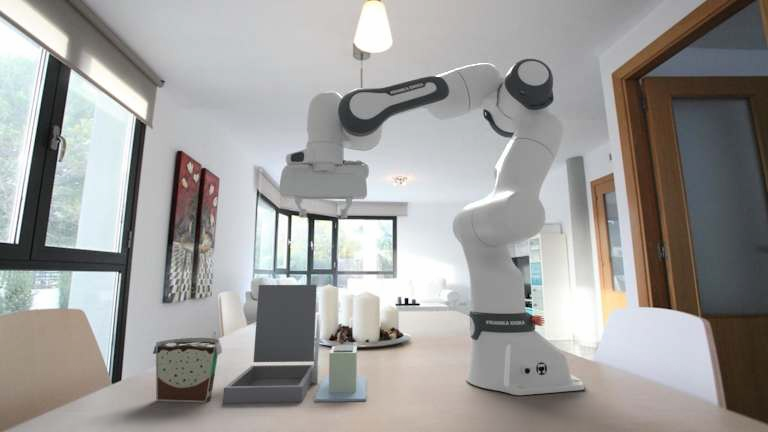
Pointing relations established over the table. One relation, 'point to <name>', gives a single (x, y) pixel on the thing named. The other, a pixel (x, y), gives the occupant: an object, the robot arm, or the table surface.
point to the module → (343, 368)
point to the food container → (186, 369)
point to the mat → (327, 396)
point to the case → (295, 393)
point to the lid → (285, 323)
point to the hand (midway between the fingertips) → (323, 217)
